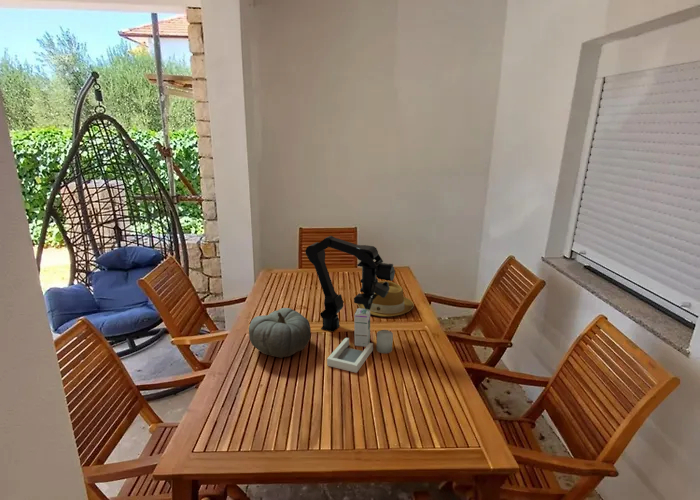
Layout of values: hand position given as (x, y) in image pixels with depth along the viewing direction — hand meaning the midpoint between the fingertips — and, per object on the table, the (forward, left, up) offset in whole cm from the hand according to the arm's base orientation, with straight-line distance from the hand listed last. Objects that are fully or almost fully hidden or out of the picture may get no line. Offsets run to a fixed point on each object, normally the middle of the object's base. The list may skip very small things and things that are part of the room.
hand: (368, 311), depth 174 cm
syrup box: (0, -7, -12) cm, 13 cm away
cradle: (0, -18, -12) cm, 21 cm away
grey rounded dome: (+10, -8, -12) cm, 17 cm away
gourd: (-29, -23, -12) cm, 39 cm away
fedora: (-3, +32, -12) cm, 34 cm away
